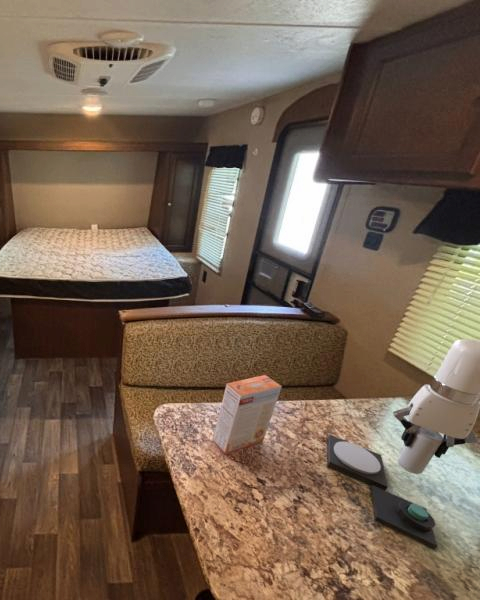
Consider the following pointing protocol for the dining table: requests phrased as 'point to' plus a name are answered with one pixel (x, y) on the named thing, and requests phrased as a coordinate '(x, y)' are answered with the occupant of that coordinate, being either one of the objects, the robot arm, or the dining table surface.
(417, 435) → the beverage can
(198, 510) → the dining table surface
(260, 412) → the cracker box
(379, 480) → the scale
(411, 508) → the button
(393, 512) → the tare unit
